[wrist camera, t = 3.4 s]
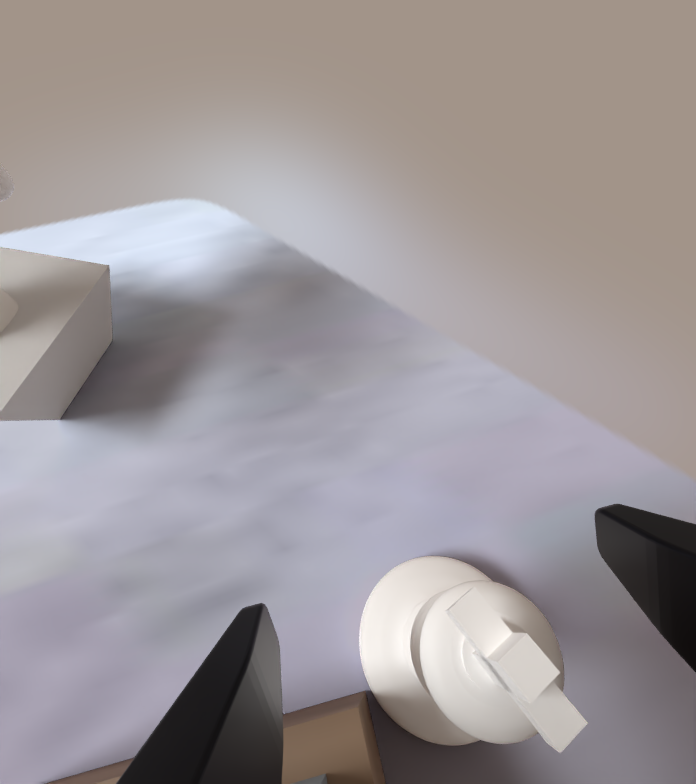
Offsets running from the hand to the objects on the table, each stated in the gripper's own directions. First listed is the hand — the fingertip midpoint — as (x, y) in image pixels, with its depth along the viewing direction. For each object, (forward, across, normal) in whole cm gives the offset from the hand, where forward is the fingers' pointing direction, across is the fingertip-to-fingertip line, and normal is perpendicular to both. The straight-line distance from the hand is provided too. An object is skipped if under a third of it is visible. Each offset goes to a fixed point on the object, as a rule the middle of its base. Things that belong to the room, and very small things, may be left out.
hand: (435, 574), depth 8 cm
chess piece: (+4, 0, +6) cm, 7 cm away
